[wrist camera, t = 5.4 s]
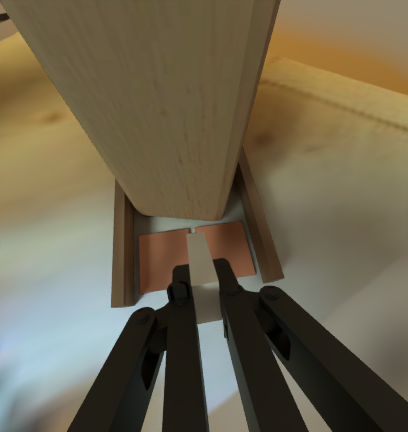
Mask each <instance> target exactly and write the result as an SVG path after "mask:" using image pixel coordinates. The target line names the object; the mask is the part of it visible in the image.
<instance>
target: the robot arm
mask: <svg viewBox="0 0 408 432" xmlns="http://www.w3.org/2000/svg"><path fill="white" fill-rule="evenodd" d="M186 236H187V247H188V258H189V264H184V265H177V266H175V267H174V269H173V270H172V283H170V284H169V286H168V287H167V294H168V299H169V302H168V303H167V304H166V305H165V306H164V307H162V308H160V309H158V310H154V309H152V308H150V307H143V308H140V309H138V310H136V311H135V312H134V313H133V314H132V315H131V316H130V318H129V320H128V322H127V323H126V325H125V327H124V329H123V331H122V332H121V334H120V336H119V338H118V340H117V341H116V343H115V345H114V347H113V349H112V351H111V352H110V354H109V356H108V358H107V360H106V361H105V363H104V365H103V367H102V369H101V370H100V372H99V374H98V376H97V378H96V380H95V381H94V383H93V385H92V387H91V389H90V390H89V392H88V394H87V396H86V398H85V399H84V401H83V403H82V405H81V407H80V409H79V410H78V412H77V414H76V416H75V418H74V419H73V421H72V423H71V425H70V427H69V428H68V430H67V432H141V429H142V426H143V422H144V419H145V415H146V412H147V409H148V405H149V402H150V399H151V395H152V392H153V389H154V385H155V382H156V379H157V375H158V372H159V369H160V365H161V362H162V358H163V355H164V351H166V368H165V386H164V405H163V423H162V432H209V424H208V414H207V405H206V396H205V387H204V378H203V369H202V361H201V352H200V343H199V334H198V327H197V324H201V323H206V322H212V321H217V320H222V318H223V325H224V337H225V338H226V339H227V343H228V347H229V351H230V355H231V360H232V364H233V368H234V372H235V376H236V380H237V384H238V388H239V392H240V396H241V400H242V404H243V408H244V412H245V416H246V420H247V424H248V428H249V432H309V431H308V429H307V427H306V425H305V423H304V420H303V418H302V416H301V414H300V411H299V409H298V407H297V405H296V403H295V401H294V398H293V396H292V394H291V392H290V389H289V387H288V385H287V383H286V381H285V378H284V376H283V374H282V372H281V370H280V368H279V365H278V363H277V361H276V359H275V356H274V354H273V352H272V350H273V351H274V353H275V354H276V355H277V357H278V358H279V359H280V361H281V362H282V364H283V365H284V366H285V368H286V369H287V370H288V372H289V373H290V374H291V376H292V377H293V379H294V380H295V381H296V383H297V384H298V385H299V387H300V388H301V389H302V391H303V392H304V394H305V395H306V396H307V398H308V399H309V400H310V402H311V403H312V404H313V405H314V407H315V409H316V410H317V411H318V413H319V414H320V415H321V417H322V418H323V419H324V421H325V422H326V424H327V425H328V426H329V428H330V429H331V430H332V432H408V402H407V401H406V400H404V398H403V397H401V396H400V395H399V394H398V393H397V392H396V391H394V389H392V388H391V387H390V386H389V385H388V384H387V383H386V382H385V381H384V380H382V379H381V378H380V377H379V376H378V375H377V374H376V373H375V372H373V371H372V370H371V369H370V368H369V367H368V366H367V365H366V364H364V363H363V362H362V361H361V360H360V359H359V358H358V357H357V356H356V355H354V354H353V353H352V352H351V351H350V350H349V349H348V348H346V347H345V346H344V345H343V344H342V343H341V342H340V341H339V340H337V338H335V337H334V336H333V335H332V334H331V333H330V332H329V331H328V330H326V329H325V328H324V327H323V326H322V325H321V324H320V323H319V322H317V321H316V320H315V319H314V318H313V317H312V316H311V315H310V314H309V313H307V312H306V311H305V310H304V309H303V308H302V307H301V306H300V305H298V304H297V303H296V302H295V301H294V300H293V299H292V298H291V297H290V296H288V295H287V294H286V293H285V292H284V291H283V290H281V289H280V288H278V287H275V286H264V287H263V288H261V289H260V291H259V292H250V291H247V290H244V289H243V287H242V286H241V285H239V284H238V281H237V279H236V277H235V274H234V272H233V270H232V268H231V265H230V263H229V261H228V260H226V259H225V258H219V259H213V260H212V257H211V254H210V251H209V247H208V244H207V241H206V237H205V234H204V232H197V233H190V234H186ZM270 347H271V348H270ZM271 349H272V350H271Z"/></svg>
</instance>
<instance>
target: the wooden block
mask: <svg viewBox="0 0 408 432" xmlns="http://www.w3.org/2000/svg"><path fill="white" fill-rule="evenodd" d="M280 1H281V0H0V3H1V5H2V6H3V8H4V9H5V11H6V12H7V14H8V15H9V17H10V18H11V20H12V21H13V23H14V24H15V26H16V28H17V29H18V31H19V32H20V34H21V35H22V37H23V38H24V40H25V41H26V43H27V44H28V46H29V47H30V49H31V50H32V52H33V53H34V55H35V56H36V58H37V59H38V61H39V63H40V64H41V66H42V67H43V69H44V70H45V72H46V73H47V75H48V76H49V78H50V79H51V81H52V82H53V84H54V85H55V87H56V88H57V90H58V91H59V93H60V94H61V96H62V97H63V99H64V101H65V102H66V104H67V105H68V107H69V108H70V110H71V111H72V113H73V114H74V116H75V117H76V119H77V120H78V122H79V123H80V125H81V126H82V128H83V129H84V131H85V132H86V134H87V135H88V137H89V139H90V140H91V142H92V143H93V145H94V146H95V148H96V149H97V151H98V152H99V154H100V155H101V157H102V158H103V160H104V161H105V163H106V164H107V166H108V167H109V169H110V170H111V172H112V173H113V175H114V177H115V178H116V180H117V181H118V183H119V184H120V186H121V187H122V189H123V190H124V192H125V193H126V195H127V196H128V198H129V199H130V201H131V202H132V204H133V205H134V207H135V208H136V210H137V211H138V212H139V213H141V214H142V215H147V216H159V217H171V218H183V219H195V220H206V221H218V220H221V219H222V217H223V215H224V213H225V209H226V205H227V201H228V198H229V194H230V190H231V186H232V183H233V179H234V175H235V171H236V167H237V164H238V160H239V156H240V152H241V149H242V145H243V141H244V137H245V133H246V130H247V126H248V122H249V118H250V114H251V111H252V107H253V103H254V99H255V96H256V92H257V88H258V84H259V80H260V77H261V73H262V69H263V65H264V62H265V58H266V54H267V50H268V46H269V42H270V39H271V35H272V31H273V28H274V24H275V20H276V16H277V12H278V9H279V4H280Z"/></svg>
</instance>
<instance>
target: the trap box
mask: <svg viewBox="0 0 408 432" xmlns="http://www.w3.org/2000/svg"><path fill="white" fill-rule="evenodd" d="M234 177H235V180H236V184H237V188H238V191H239V195H240V199H241V202H242V206H243V210H244V213H245V217H246V221H247V224H248V228H249V232H250V235H251V239H252V243H253V246H254V250H255V253H256V257H257V261H258V264H259V268H260V272H261V275H262V279H263V283H269V282H274V281H277V280H280V279H283V278H284V275H283V272H282V269H281V265H280V262H279V259H278V256H277V253H276V250H275V247H274V243H273V240H272V237H271V234H270V231H269V228H268V225H267V221H266V218H265V215H264V212H263V209H262V206H261V203H260V200H259V196H258V193H257V190H256V187H255V184H254V181H253V178H252V174H251V171H250V168H249V165H248V162H247V159H246V156H245V153H244V149H243V146H242V149H241V152H240V156H239V160H238V164H237V167H236V171H235V175H234ZM197 232H204V234H205V237H206V241H207V244H208V247H209V251H210V254H211V257H212V260H213V259H219V258H225V259H226V260H228V261H229V263H230V265H231V268H232V270H233V272H234V274H235V277H236V278H237V277H243V276H249V275H255V274H256V273H255V269H254V266H253V262H252V258H251V254H250V250H249V247H248V243H247V239H246V235H245V231H244V228H243V224H242V221H238V222H231V223H224V224H217V225H210V226H203V227H196V228H195V233H197ZM186 234H189V230H188V229H182V230H175V231H168V232H161V233H154V234H147V235H140V236H139V266H140V293H147V292H153V291H159V290H165V289H167V287H168V286H169V284H170V283H172V270H173V269H174V267H175V266H177V265H184V264H189V258H188V247H187V236H186ZM130 306H134V225H133V204H132V202H131V201H130V199H129V198H128V196H127V195H126V193H125V192H124V190H123V189H122V187H121V186H120V184H119V183H118V181H117V180H116V178H115V204H114V234H113V263H112V293H111V308H123V307H130Z"/></svg>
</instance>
